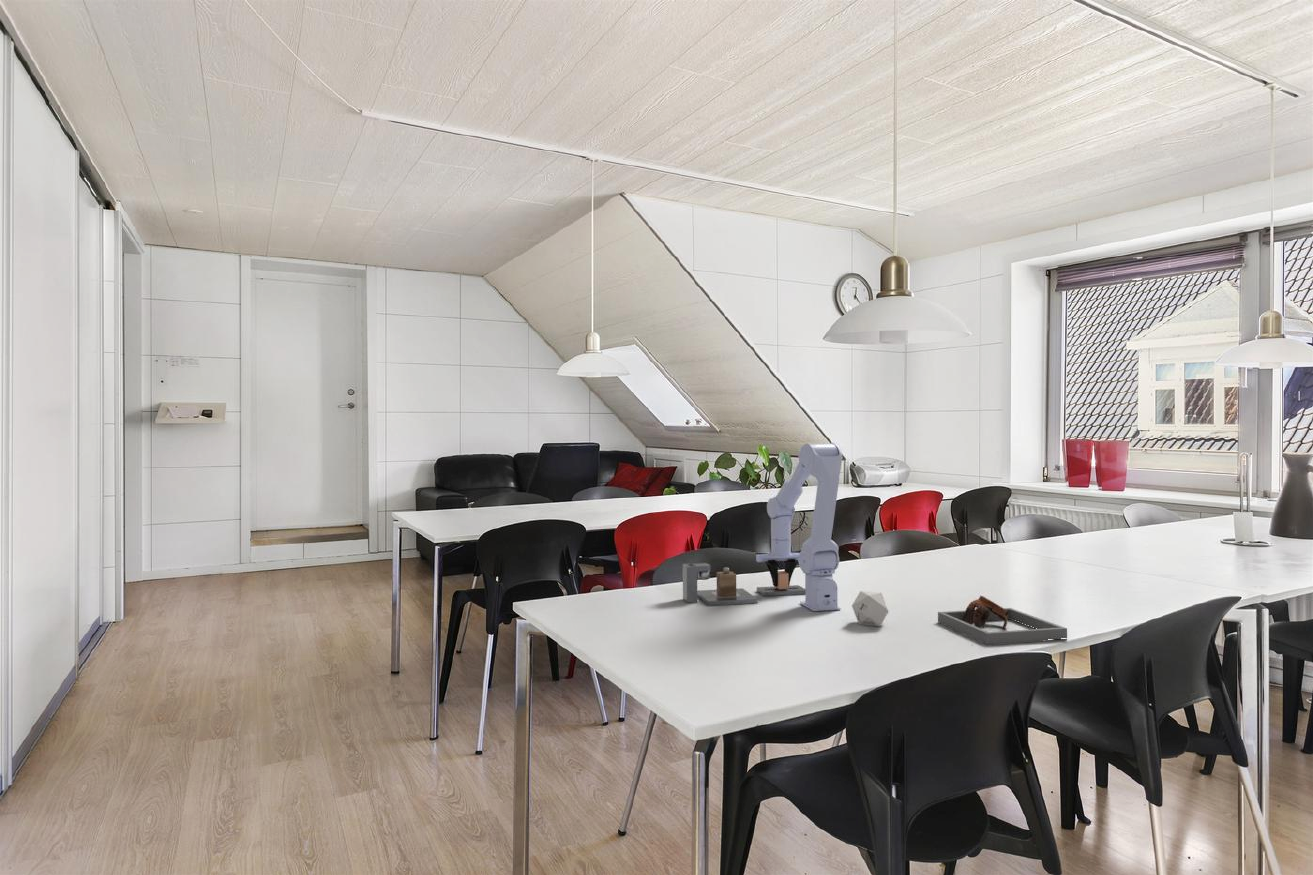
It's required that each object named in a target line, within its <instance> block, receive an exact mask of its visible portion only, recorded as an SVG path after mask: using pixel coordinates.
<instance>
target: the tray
mask: <svg viewBox="0 0 1313 875" xmlns="http://www.w3.org/2000/svg"><path fill="white" fill-rule="evenodd" d="M1003 608H1004V609H1006V610H1007V611H1008V612H1009V613H1008V614H1007V620H1011V619H1013V620H1016V621H1019V622H1021V623H1023V624H1022V625H1024V624H1026V625H1029V626H1032V627H1034V628H1037V629H1034V628H1032V629H1018V630H1017V629H1015V630H1002V631H987V630H985V629H983V628H981V627H976V626H975V625H974V624H972V625H971V624H969V623H966V622H964V621H963V617H964V613H965V610H953V611H952V610H951V611H949V610H948V611H937V622H938V623H939V624H941V625H944V626H946V627H948V628H950V629H952V630H955V631H956V632H958V633H960V634H963V635H965V636H967V637H970V638H972V639H974V640H977V641H978V642H980V643H983V644H985V645H987V646H992V645H1001V644H1002V645H1005V644H1018V643H1032V642H1033V643H1034V641H1037V642H1044V641H1043V640H1048V639H1061V638H1067V639H1068V628H1067V627H1063V626H1062V625H1059V624H1055V623H1053V622H1050V621H1048V620H1045V619H1041V618H1039V617H1037V616H1034V615H1030V614H1028V613H1025V612H1022V611H1019V610H1017V609H1014V608H1012V607H1006V608H1005V607H1003ZM995 619H1001V620H1003V619H1002V618H1000V617H999V616H998V615H996V614H994V613H993V612H990V616H989V617H988V619H987V620H986V621H996V620H995ZM1013 620H1012V621H1013ZM1016 621H1015V622H1016ZM1021 623H1020V624H1021ZM1026 625H1025V626H1026ZM1029 626H1028V627H1029Z"/></svg>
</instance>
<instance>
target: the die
mask: <svg viewBox="0 0 1313 875" xmlns="http://www.w3.org/2000/svg"><path fill="white" fill-rule="evenodd" d="M851 607H852V609H853V613H854V615H855V618H856V620H857V623H858V626H860V625H861V626H872V627H881V626H882V625H883V622H884V621H885V619H886V617H887V615H888V614H889V608H888V606H887V604H886V600H885V598H884V595H883V593H882V592H877V591H865V590H864V591H863V590H861V591H859V593H858V595H857V596H856V597H855V599H854V602H853V603H852V605H851Z"/></svg>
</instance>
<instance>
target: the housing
mask: <svg viewBox="0 0 1313 875" xmlns="http://www.w3.org/2000/svg"><path fill="white" fill-rule="evenodd" d="M722 570H723V571H716V590H717V594H718V595H720V596H721V597H723V596H736V589H737V574H736V573H735V572H733V571H730V568H729V567H723V569H722Z"/></svg>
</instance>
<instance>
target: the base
mask: <svg viewBox="0 0 1313 875" xmlns="http://www.w3.org/2000/svg"><path fill="white" fill-rule="evenodd" d="M756 592H757V593H758V594H760V595H762V596H763V597H779V596H780V597H781V596H783V597H784V596H799V595H801V596H802V595H805V587H802V586H801V585H798V584H797V585H796V584H795V585H789V589H777V588H776V587H774V585H772V586H757V587H756Z"/></svg>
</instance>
